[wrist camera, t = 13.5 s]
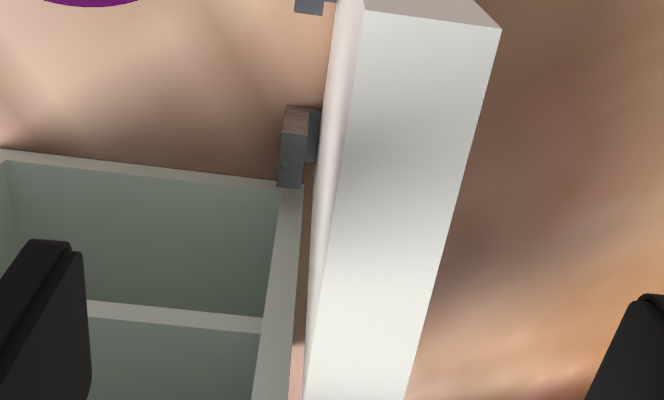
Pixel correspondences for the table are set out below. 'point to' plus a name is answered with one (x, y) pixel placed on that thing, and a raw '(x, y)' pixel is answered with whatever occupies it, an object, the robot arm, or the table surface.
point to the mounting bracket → (91, 2)
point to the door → (388, 184)
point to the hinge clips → (299, 125)
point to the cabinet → (167, 271)
